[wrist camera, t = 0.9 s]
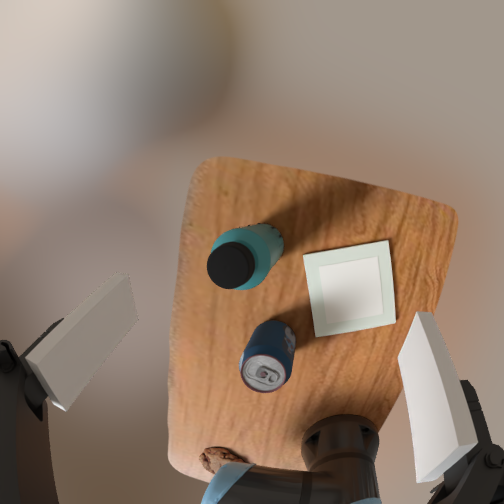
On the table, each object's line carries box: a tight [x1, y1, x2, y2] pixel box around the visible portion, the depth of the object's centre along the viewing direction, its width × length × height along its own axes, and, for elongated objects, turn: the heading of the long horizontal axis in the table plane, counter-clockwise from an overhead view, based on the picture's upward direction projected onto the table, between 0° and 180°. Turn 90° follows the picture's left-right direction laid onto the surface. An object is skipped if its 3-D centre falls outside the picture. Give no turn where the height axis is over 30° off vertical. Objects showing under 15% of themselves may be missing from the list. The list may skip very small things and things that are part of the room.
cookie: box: [199, 448, 245, 474], centre depth 51 cm, size 10×11×3 cm
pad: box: [303, 240, 396, 337], centre depth 42 cm, size 13×13×1 cm
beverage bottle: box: [207, 223, 285, 290], centre depth 35 cm, size 6×7×20 cm
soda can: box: [239, 321, 296, 393], centre depth 40 cm, size 7×7×12 cm
